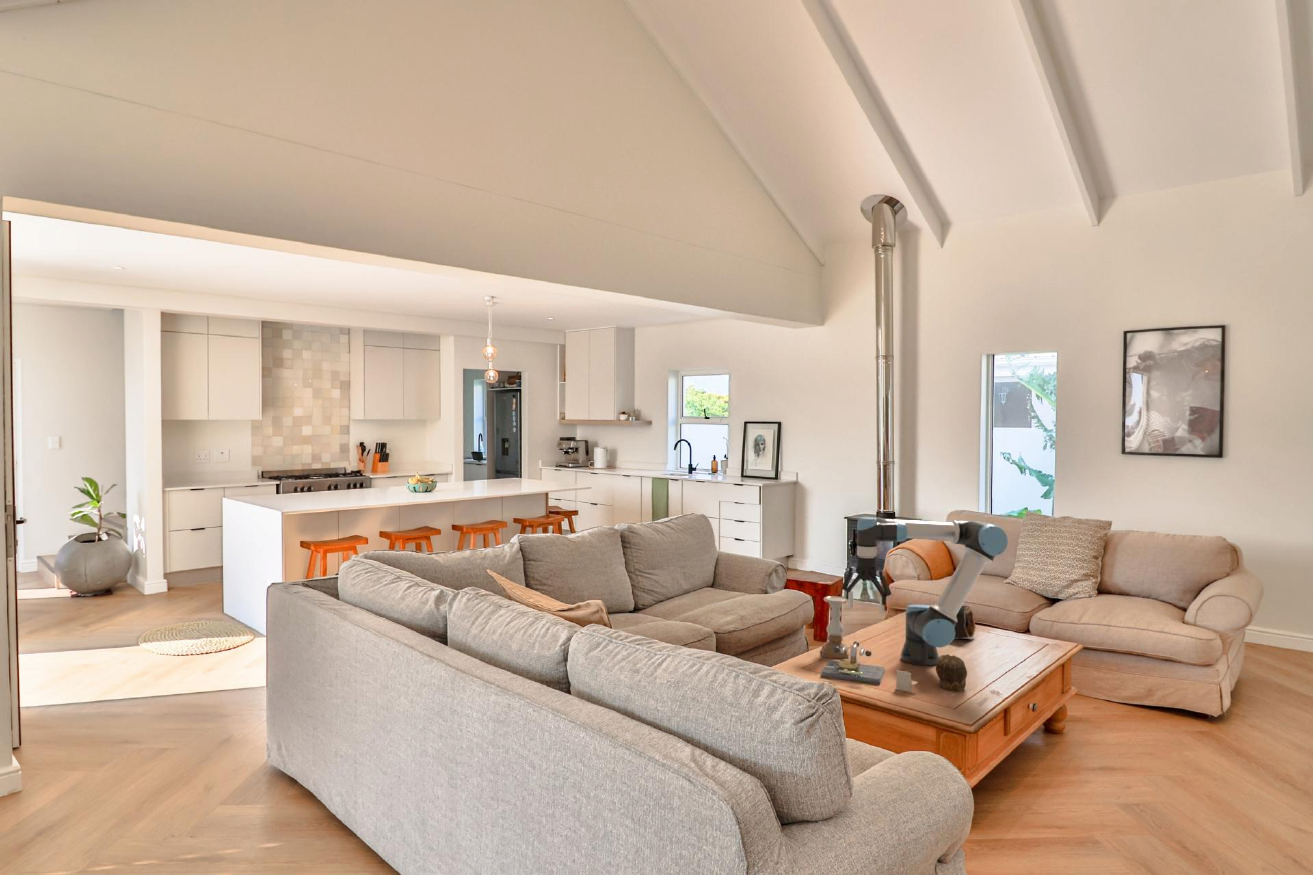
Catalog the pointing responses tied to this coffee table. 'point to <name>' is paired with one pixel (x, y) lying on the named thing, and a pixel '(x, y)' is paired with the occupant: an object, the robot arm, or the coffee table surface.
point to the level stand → (853, 673)
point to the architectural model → (904, 681)
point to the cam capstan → (851, 657)
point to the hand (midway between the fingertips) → (865, 610)
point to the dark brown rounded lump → (951, 673)
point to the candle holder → (835, 629)
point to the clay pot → (965, 623)
